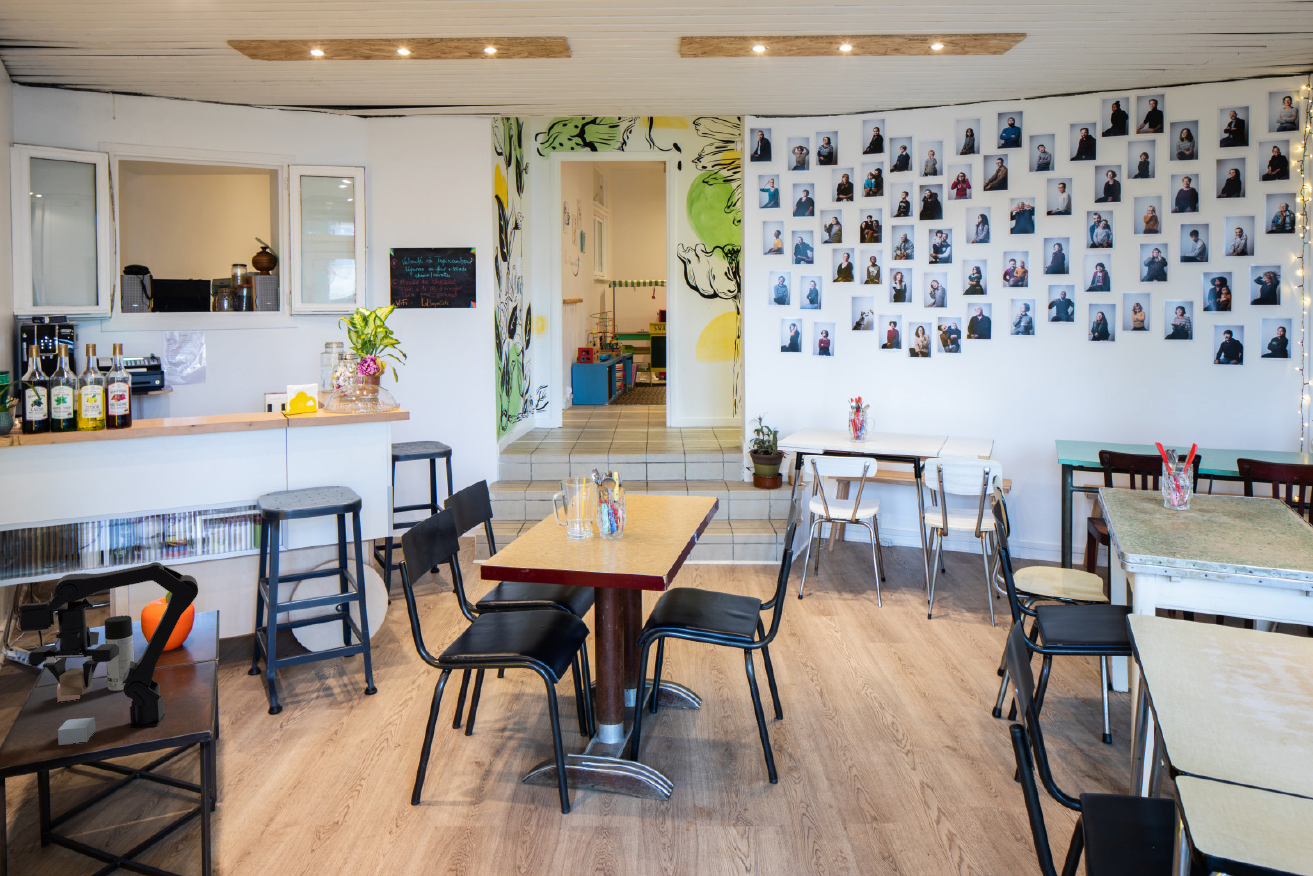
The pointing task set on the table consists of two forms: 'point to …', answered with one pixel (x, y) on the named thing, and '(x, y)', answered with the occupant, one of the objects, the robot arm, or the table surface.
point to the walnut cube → (73, 682)
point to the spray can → (122, 636)
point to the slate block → (76, 731)
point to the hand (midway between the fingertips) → (76, 687)
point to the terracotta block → (67, 697)
